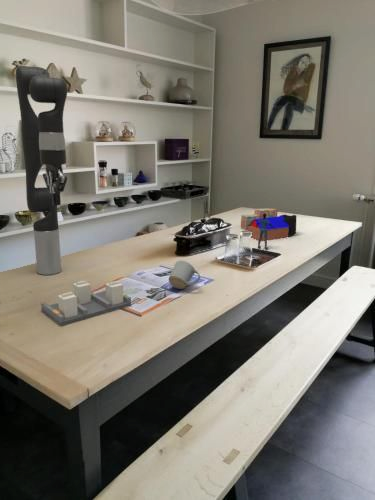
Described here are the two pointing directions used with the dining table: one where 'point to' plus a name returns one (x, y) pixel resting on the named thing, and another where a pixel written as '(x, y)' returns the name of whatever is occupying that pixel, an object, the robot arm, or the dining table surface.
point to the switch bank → (85, 308)
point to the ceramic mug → (182, 275)
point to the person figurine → (263, 230)
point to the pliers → (205, 208)
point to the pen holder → (290, 223)
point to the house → (270, 228)
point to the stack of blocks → (257, 216)
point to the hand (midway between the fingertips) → (56, 205)
